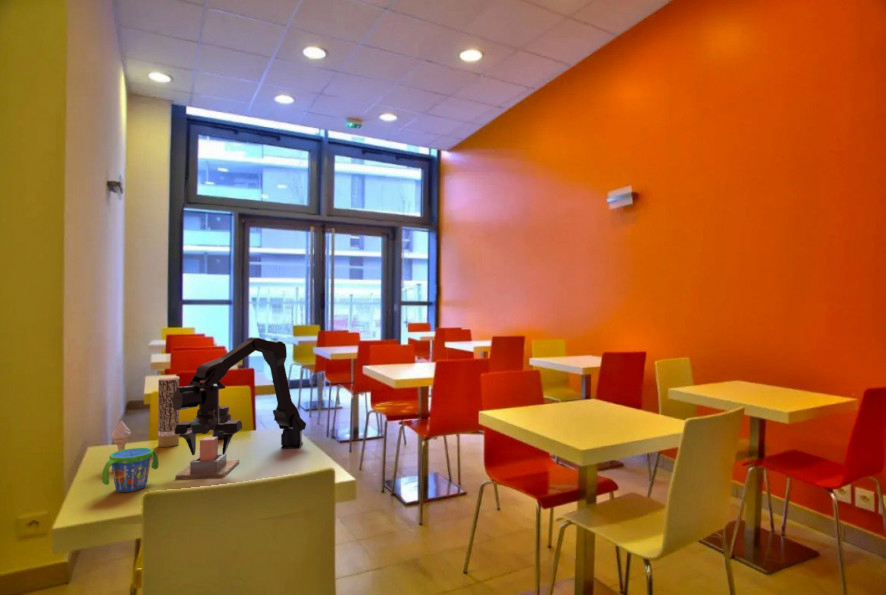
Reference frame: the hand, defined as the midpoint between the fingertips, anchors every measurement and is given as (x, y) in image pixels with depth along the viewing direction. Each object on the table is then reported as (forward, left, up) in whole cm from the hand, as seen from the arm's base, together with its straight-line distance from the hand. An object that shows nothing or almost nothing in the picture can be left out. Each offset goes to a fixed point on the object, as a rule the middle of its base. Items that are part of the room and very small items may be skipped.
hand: (208, 454), depth 159 cm
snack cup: (+16, +14, -5) cm, 22 cm away
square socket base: (0, 0, -5) cm, 5 cm away
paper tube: (+26, -31, -5) cm, 41 cm away
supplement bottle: (+10, -40, -5) cm, 42 cm away
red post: (0, 0, -4) cm, 4 cm away
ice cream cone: (+30, -7, -5) cm, 31 cm away
